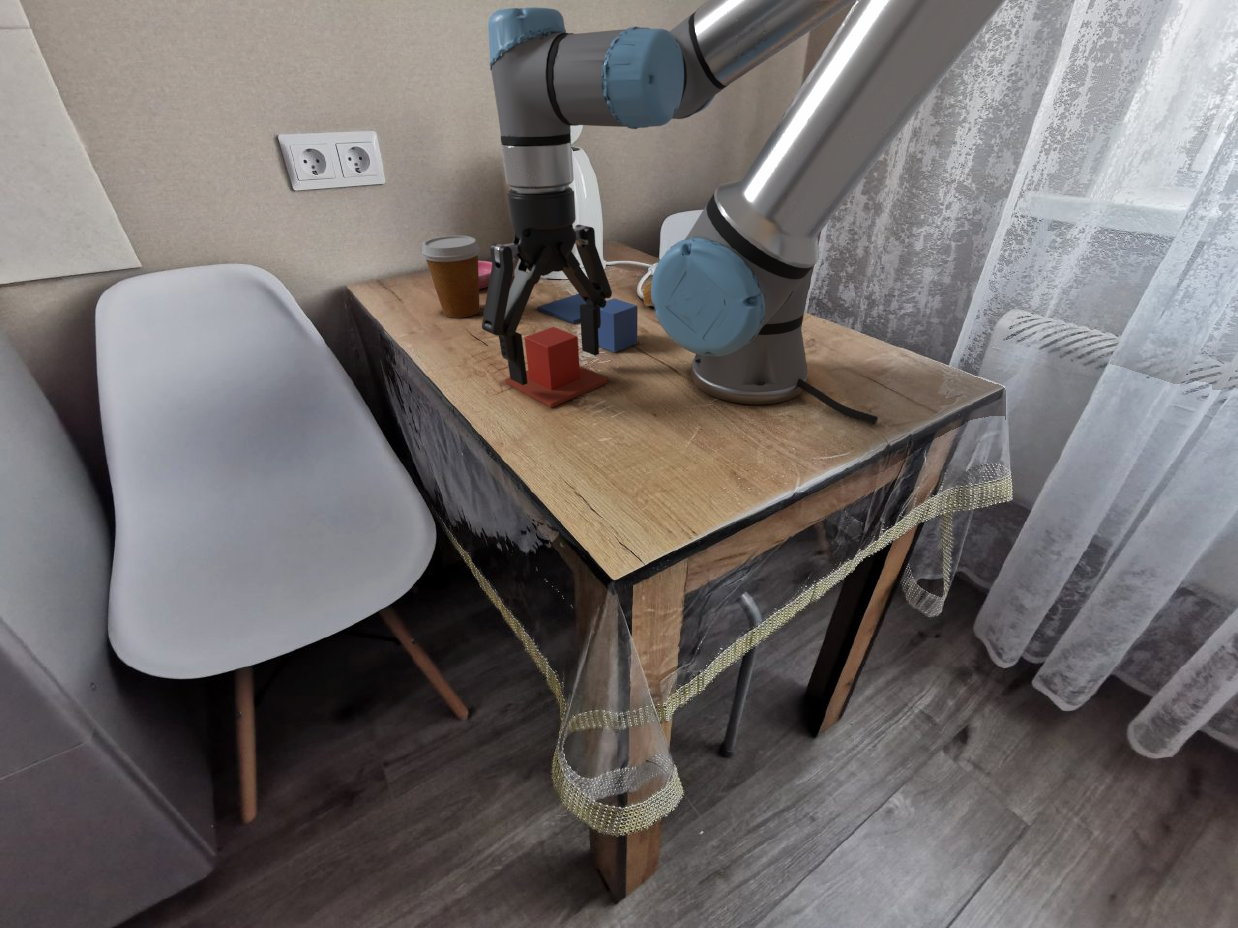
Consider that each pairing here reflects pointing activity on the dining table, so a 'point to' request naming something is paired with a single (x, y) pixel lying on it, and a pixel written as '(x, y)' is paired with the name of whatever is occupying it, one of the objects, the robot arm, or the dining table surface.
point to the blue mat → (564, 308)
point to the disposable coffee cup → (454, 273)
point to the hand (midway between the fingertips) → (556, 366)
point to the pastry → (647, 295)
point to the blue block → (618, 325)
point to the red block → (552, 357)
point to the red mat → (560, 388)
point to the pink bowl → (484, 273)
